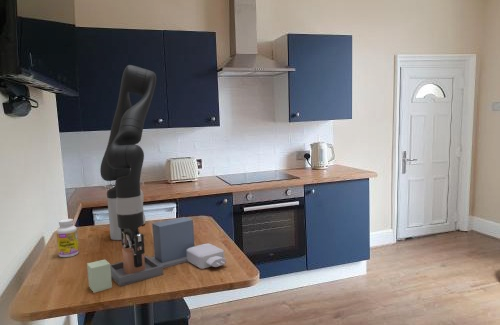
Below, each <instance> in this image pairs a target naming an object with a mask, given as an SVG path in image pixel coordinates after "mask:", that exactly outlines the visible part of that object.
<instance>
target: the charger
mask: <svg viewBox="0 0 500 325" xmlns="http://www.w3.org/2000/svg"><path fill="white" fill-rule="evenodd" d="M186 253H187V261H188V262H187V263H190V264H192V265H193V266H195V267H196V268H199V269H200V270H202V269H203V270H204V269H207V268H211V267H214V268H217V267H220V266H223V265H226V262H227V259H226V258H225V250H224V249H222V248H220V247H218V246H216V245H214V244H211V243H209V242H208V243H204V244H198V245H195V246H194V247H191V248H188V249H187V250H186Z"/></svg>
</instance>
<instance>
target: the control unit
mask: <svg viewBox="0 0 500 325" xmlns="http://www.w3.org/2000/svg"><path fill="white" fill-rule="evenodd" d="M151 224H152V225H151V226H152V238H153V240H152V241H153V251H154V256H150V258H151V259H153V260H154V261H156V262H157V263H159V264H160V265H162V266H163V269H165V268H170V267H173V266H177V265H180V264H184V263H189V262H188V261H187V253H186V250H187V249H188V248H191V247H194V246H196V244H195V230H194V220H193V219H192V218H189V217H186V216H183V217H179V218H173V219H172V218H171V219H168V220H162V221H158V222H157V221H156V222H153V223H151Z"/></svg>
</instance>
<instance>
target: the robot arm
mask: <svg viewBox="0 0 500 325" xmlns="http://www.w3.org/2000/svg"><path fill="white" fill-rule="evenodd" d="M122 72H123V73H122V77H121V82H120V87H119V94H118V100H117V105H116V108H115V112H114V115H113V116H114V117H113V120H112V124H111V128H110V133H109V138H108V142H107V146H106V149H105V152H104V154H103V157H102V160H101V163H100V169H99V170H100V172H99V173H100V176H101V179H102V180H103V181H106V182H113V181H115V185H114V187H113V186H112V188H109V189H108V190H107V191H106V197H107V210H108V211H107V212H108V221H109V222H108V223H109V234H110V239H111V240H112V241H121V246H123V249H124V248H129V247H130V249H132V251H133V255H134V266H135V267H136V268H137V267H141V266H142V254H144V255H145V251H146V249H145V236H144V233H141V232H140V230H139V228H140V227H142V226H143V225H145V223H144V220H143V210H144V206H143V207H142V199H141V192H140V189H141V176H142V170H143V169H142V168H143V164H144V160H145V153H144V149H143V148H142V147H141V146H140V145H138V144H139V143H140V142H141V141H142V138H143V137H142V136H143V130H144V126H145V122H146V121H145V120H146V117H147V114H148V112H149V109H150V106H151V103H152V99H153V96H154V93H155V88H156V84H157V75H156V73H155V71H152V70H149V69H146V68H142V67H140V66H136V65H132V64H128V65H126V67H125V68H124V70H123V71H122ZM130 94H133V95H136V96H141V98H140V100H139V101H138V102H136V103H135V104H134V105H132V101H131V97H130ZM138 248H139V250H138Z"/></svg>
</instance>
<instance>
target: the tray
mask: <svg viewBox="0 0 500 325" xmlns="http://www.w3.org/2000/svg"><path fill="white" fill-rule="evenodd" d="M150 257H151V256H150ZM150 257H149V256H148V255H144V260H145V270H142V271H139V272H135V273H132V274H127V273H126V272H124V267H123V261H119V262H116V263H110V269H111V280H113V281H114V282H115V283H116V284H117V285H118V286H119V287H120V288H121V287H123V286H127V285H131V284H133V283H137V282H141V281H145V280H148V279H151V278H155V277H159V276H162V275H164V268H163V266H162V265H160V264H159V263H157V262H156V261H154V260H153V259H151V258H150Z"/></svg>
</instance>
